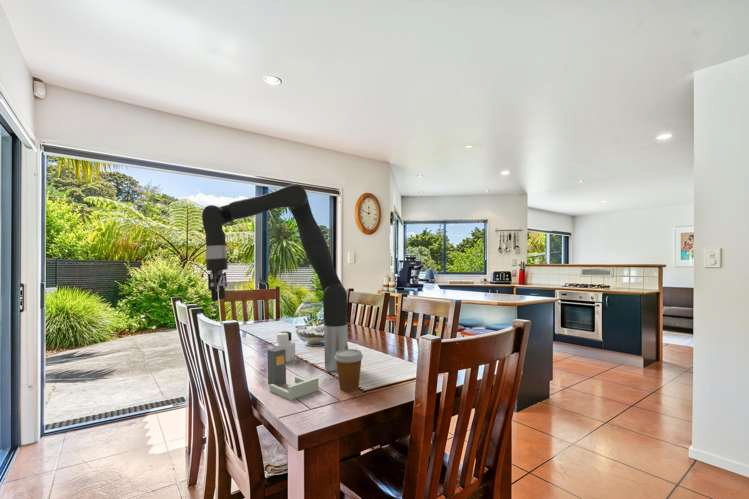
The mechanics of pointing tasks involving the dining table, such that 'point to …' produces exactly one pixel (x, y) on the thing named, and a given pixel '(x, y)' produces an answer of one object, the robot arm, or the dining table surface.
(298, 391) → the mount
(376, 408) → the dining table surface
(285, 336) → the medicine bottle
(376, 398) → the dining table surface
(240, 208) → the robot arm
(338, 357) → the disposable coffee cup
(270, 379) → the tall gray pillar block
